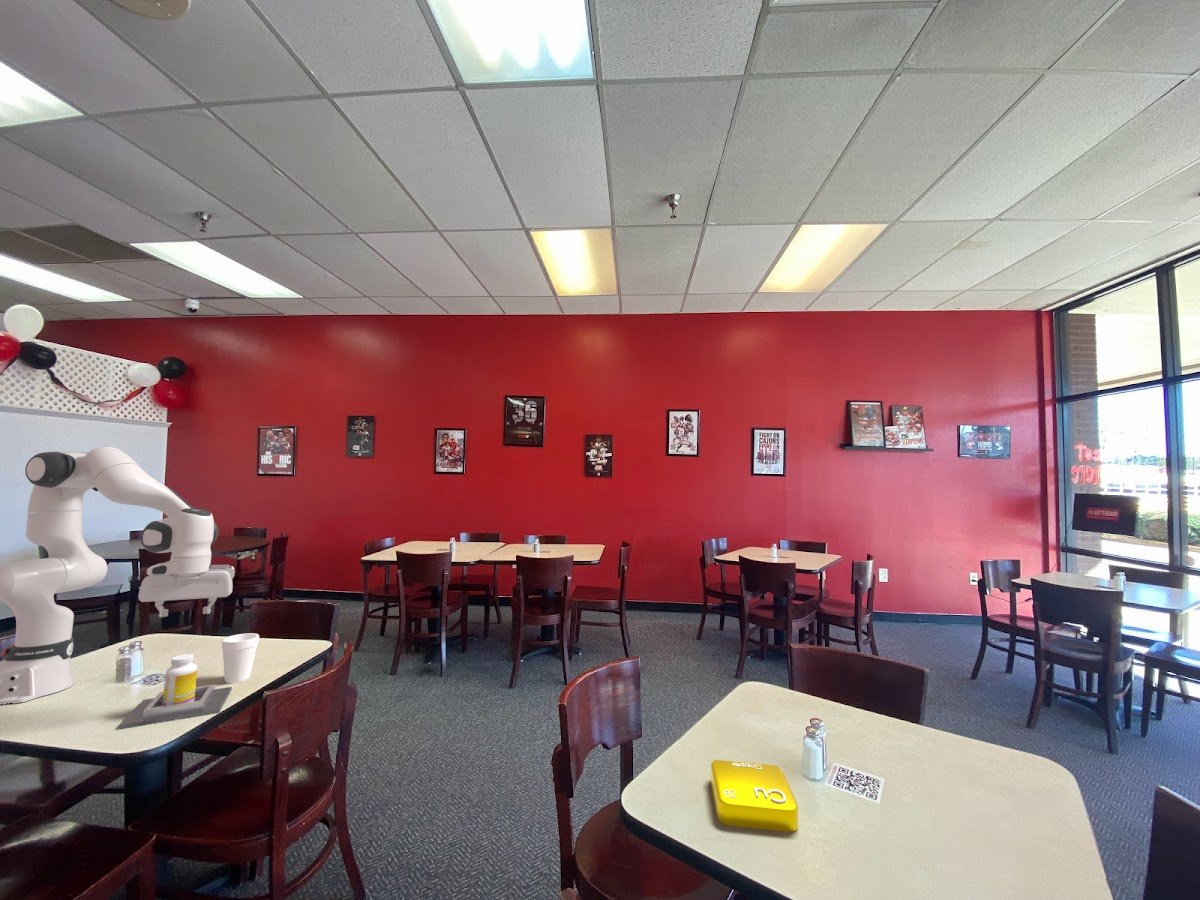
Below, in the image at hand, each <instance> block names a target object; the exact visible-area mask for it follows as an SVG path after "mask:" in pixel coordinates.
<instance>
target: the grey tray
mask: <svg viewBox="0 0 1200 900" xmlns="http://www.w3.org/2000/svg"><path fill="white" fill-rule="evenodd" d="M232 690H233V687H232V686H229V687H228V686H227V687H222V688H216V684H209V685H202V686H196V688H195V699H194V701H193V702H186V703H179V704H173V705H166V706H163V697H164V691H160V692H158V694H156V696H155V697H153V698H145V699H143V700H142V701H141V702H140V703H139V704H138V705H137V706H136V707H135V709H133V711H132V712H131V713H130V714H129V715H128V716H126V718H125V719H124V720H123V721H122V722H121V723H120V724H119V730H122V728H123V729H129V728H135V727H141V726H146V724H147V725H151V724H152V723H154V724H158V723H157V722H160V723H164V722H163V721H166V722H170V720H172V721H176V720H175V719H178V720H182V719H188V718H196V717H200V716H208V715H212V714H219V713H221V710H222V709H223V707H224V705H225V703H226V701H227V700H228V698H229V696H230V695H231V692H232Z"/></svg>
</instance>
